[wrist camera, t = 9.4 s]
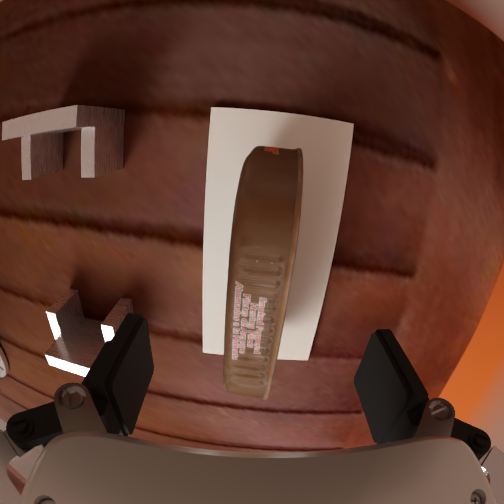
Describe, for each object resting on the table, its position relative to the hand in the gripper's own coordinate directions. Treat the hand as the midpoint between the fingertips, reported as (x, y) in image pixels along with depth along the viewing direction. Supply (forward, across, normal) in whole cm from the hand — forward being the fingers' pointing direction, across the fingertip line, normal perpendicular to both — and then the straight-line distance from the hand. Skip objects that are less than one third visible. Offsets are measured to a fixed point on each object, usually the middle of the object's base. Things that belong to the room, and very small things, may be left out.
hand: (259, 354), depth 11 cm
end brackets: (+11, +13, 0) cm, 17 cm away
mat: (+10, -1, 0) cm, 10 cm away
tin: (+10, 0, 0) cm, 10 cm away
